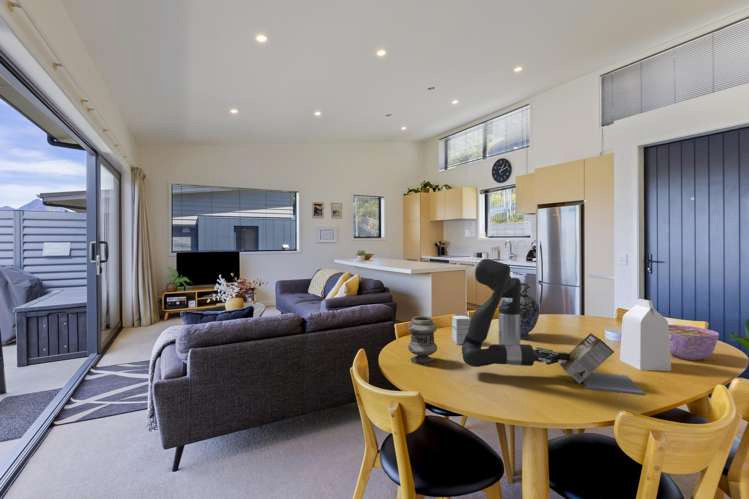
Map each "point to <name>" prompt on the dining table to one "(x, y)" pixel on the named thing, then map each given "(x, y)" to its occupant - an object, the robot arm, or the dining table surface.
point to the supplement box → (459, 328)
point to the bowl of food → (691, 342)
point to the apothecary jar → (422, 339)
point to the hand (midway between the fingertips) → (568, 356)
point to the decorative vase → (526, 312)
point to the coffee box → (586, 357)
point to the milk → (645, 338)
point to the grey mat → (611, 383)
